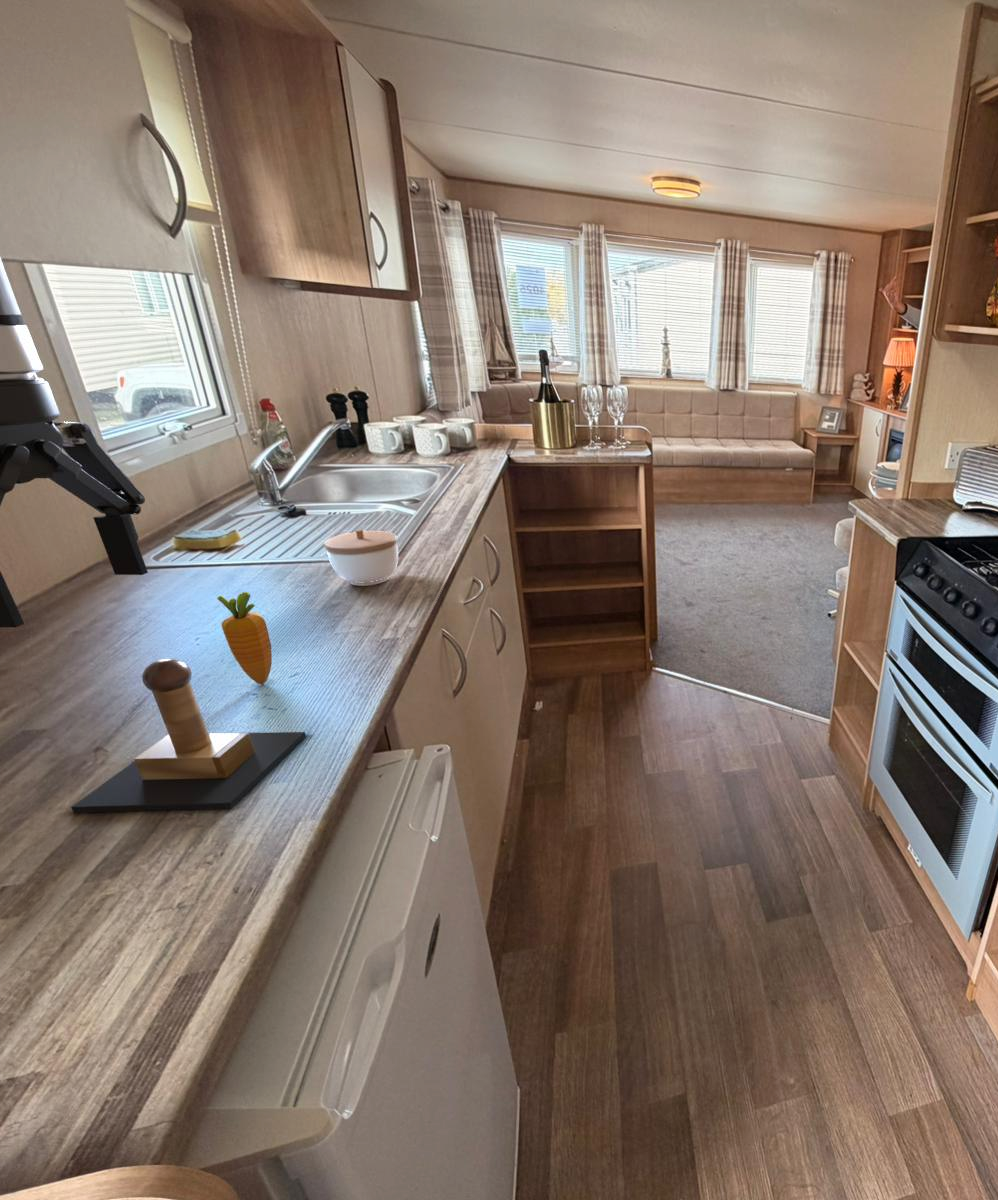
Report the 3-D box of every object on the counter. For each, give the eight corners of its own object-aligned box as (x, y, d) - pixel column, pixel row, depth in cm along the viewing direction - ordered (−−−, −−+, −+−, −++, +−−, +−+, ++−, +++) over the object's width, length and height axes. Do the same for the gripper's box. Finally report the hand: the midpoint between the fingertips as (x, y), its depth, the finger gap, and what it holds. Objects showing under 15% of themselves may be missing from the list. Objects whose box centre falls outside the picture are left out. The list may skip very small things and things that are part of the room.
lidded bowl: (329, 576, 136) (317, 527, 132) (396, 566, 144) (387, 519, 140) (339, 595, 127) (326, 543, 123) (410, 582, 135) (400, 533, 131)
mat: (73, 812, 70) (70, 807, 70) (174, 738, 83) (172, 733, 83) (231, 808, 72) (229, 803, 72) (306, 736, 85) (304, 731, 85)
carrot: (232, 688, 95) (201, 596, 89) (267, 673, 99) (240, 584, 93) (257, 695, 93) (227, 601, 88) (291, 679, 98) (265, 589, 92)
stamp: (255, 752, 80) (221, 650, 75) (226, 778, 76) (188, 671, 70) (176, 754, 79) (136, 650, 74) (142, 779, 74) (96, 671, 69)
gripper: (68, 366, 67) (137, 556, 75) (-273, 384, 44) (-120, 654, 52) (147, 370, 68) (207, 557, 76) (-147, 389, 45) (-16, 654, 53)
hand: (74, 597), depth 64 cm, fingers open, 13 cm apart
